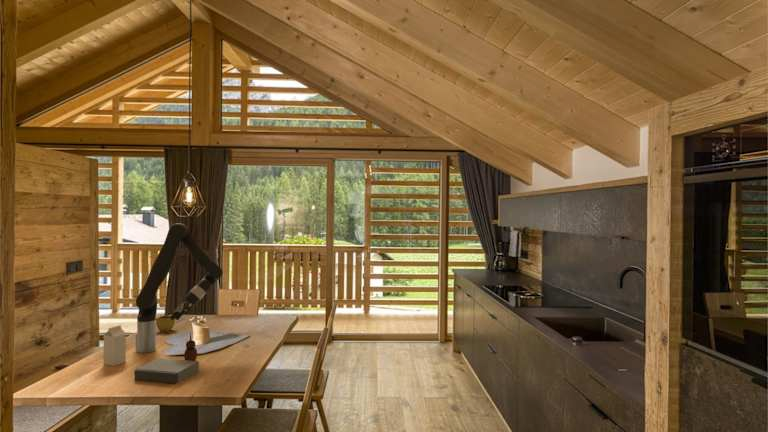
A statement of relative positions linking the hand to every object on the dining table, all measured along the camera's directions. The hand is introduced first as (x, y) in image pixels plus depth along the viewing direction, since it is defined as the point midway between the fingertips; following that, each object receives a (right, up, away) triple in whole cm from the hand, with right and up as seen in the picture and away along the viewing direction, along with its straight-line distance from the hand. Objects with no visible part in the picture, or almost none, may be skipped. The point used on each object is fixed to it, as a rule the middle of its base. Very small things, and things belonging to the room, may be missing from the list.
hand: (173, 319), depth 247 cm
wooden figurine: (+12, -21, -6) cm, 25 cm away
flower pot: (-30, -20, +55) cm, 66 cm away
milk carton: (-26, -21, -9) cm, 35 cm away
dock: (+9, -21, -25) cm, 34 cm away
